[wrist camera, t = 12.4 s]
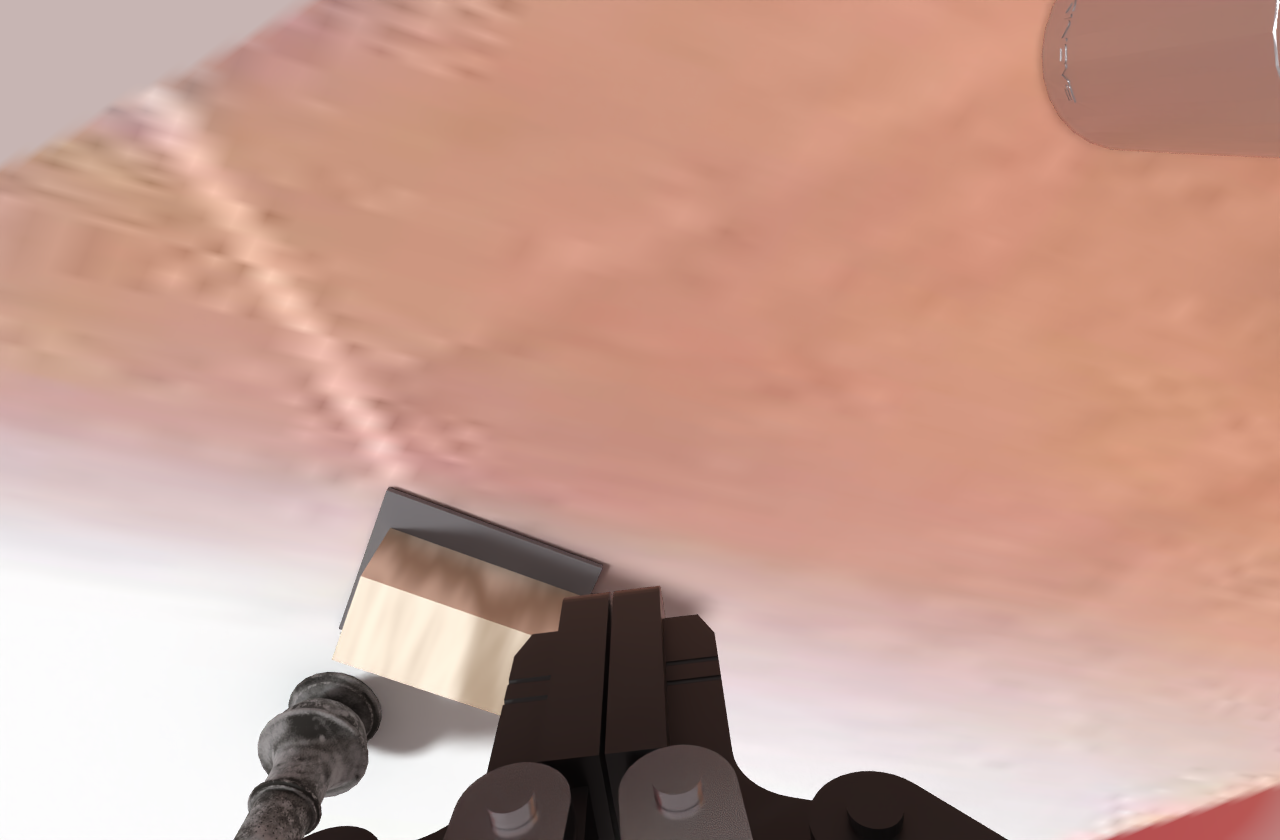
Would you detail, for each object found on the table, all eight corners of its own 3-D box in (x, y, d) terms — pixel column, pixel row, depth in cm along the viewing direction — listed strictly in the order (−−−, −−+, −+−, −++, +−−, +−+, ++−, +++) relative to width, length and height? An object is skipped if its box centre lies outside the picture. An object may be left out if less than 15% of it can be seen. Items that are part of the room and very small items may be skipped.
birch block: (598, 658, 41) (360, 576, 39) (562, 736, 42) (331, 659, 40) (602, 603, 45) (390, 527, 44) (569, 674, 47) (363, 604, 45)
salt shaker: (327, 767, 49) (236, 957, 38) (262, 697, 48) (146, 874, 36) (407, 723, 48) (337, 905, 37) (343, 650, 47) (249, 817, 35)
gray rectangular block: (602, 564, 45) (602, 568, 45) (544, 693, 48) (543, 698, 47) (389, 487, 43) (386, 490, 43) (341, 624, 46) (338, 628, 46)
